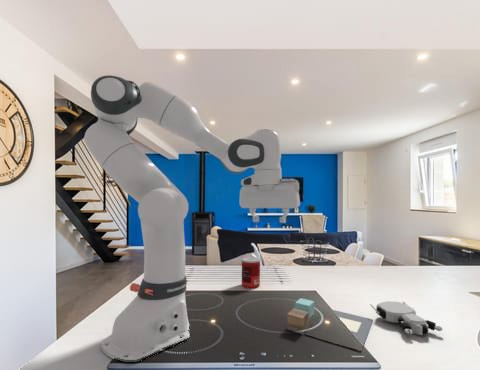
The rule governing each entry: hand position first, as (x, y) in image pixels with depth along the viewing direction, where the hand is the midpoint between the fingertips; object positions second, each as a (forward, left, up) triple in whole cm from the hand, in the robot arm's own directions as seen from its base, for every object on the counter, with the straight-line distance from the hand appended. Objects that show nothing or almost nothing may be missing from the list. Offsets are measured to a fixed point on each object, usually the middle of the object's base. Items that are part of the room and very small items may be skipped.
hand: (269, 222), depth 86 cm
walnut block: (-4, -12, -29) cm, 31 cm away
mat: (+4, -21, -29) cm, 36 cm away
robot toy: (+16, -36, -29) cm, 49 cm away
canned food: (+20, +19, -29) cm, 40 cm away
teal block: (+5, -10, -29) cm, 31 cm away
